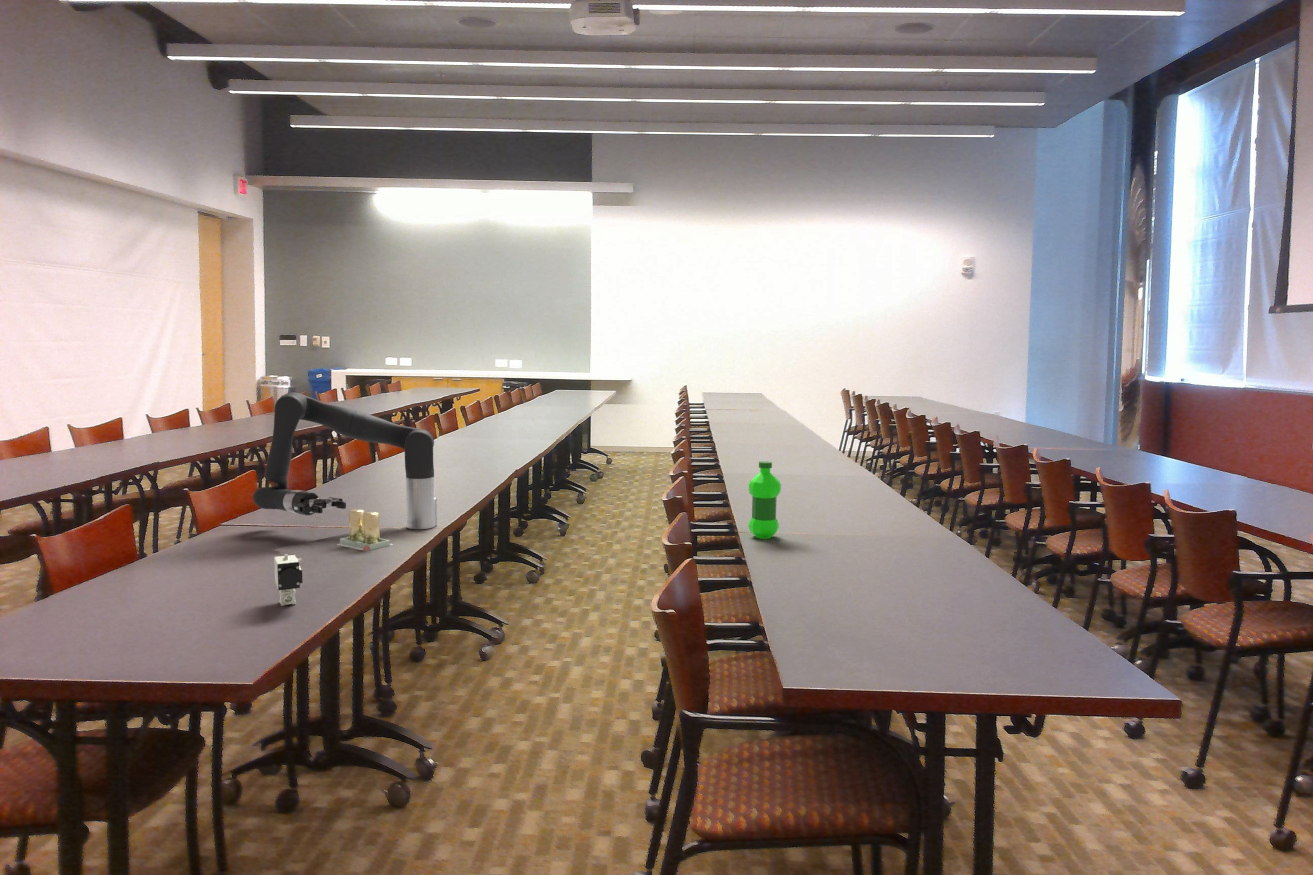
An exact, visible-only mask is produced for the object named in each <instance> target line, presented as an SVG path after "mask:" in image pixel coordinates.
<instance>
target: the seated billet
mask: <svg viewBox="0 0 1313 875" xmlns="http://www.w3.org/2000/svg"><path fill="white" fill-rule="evenodd" d="M363 521H364V543H366V544H374V543H378V542H380V538H381V537H380V534H381V533H380V531H381V530H380V512H379V511H365V513H363Z"/></svg>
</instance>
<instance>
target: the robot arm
mask: <svg viewBox="0 0 1313 875" xmlns="http://www.w3.org/2000/svg"><path fill="white" fill-rule="evenodd" d="M273 416H274V417H273V431H272V432H273V433H272V438H271V444H270V449H269V453H268V456H267V459H266V465H265V470H264V474H263V476H264V479H265V480H266V481H269V482H271V483H274V486H263V487H259V488H257V489H256V490H255V491H254V493H253V494H252V501H253V503H254V505H255V506H256V507H257V508H260V509H263V510H281V511H285V512H290V513H293V514H296V515H303V516H312V515H314V514H322V513H323V510H327V511H329V510H332V509H342V510H345V509H347V508H346V507H347V503H346V501H344V500H343V498H342V497H341V498H340V497H339V498H338V497H332V496H330V497H328V498H327V497H326V498H324V497H320V496H318V494H317V493H315V492H312V491H306V490H301V489H300V490H299V489H295V490H293V489H288V488H289V487H288V475H289V470H290V466H291V463H292V462H291V461H292V454H293V440H294V435H295V432H296V430H297V427H298V425H299V422H300V421H305V422H312V423H315V424H319V425H322V426H324V427H326V428H327V429H329V430H331V431H333V432H335V433H337V434H339V435H341V436H344V437H347V438H350V439H353V440H357V441H361V442H367V443H374V444H385V445H391V446H392V447H393V446H394V447H396V448H399V449H402V450H404V468H405V487H406V488H405V489H406V490H405V494H406V495H405V496H406V528H407V529H411V530H426V529H427V530H429V529H432V528H435V526H438V503H437V501H438V499H437V497H435V469H434V468H435V467H434V446H435V440H434V436H433V435H432V433H430V431H428V430H427V429H423V428H419V427H418V428H416V427H411V426H406V425H400V424H398V423H394V422H391V421H388V420H386V419H383V418H380V417H378V416H375V415H372V414H369V413H366V412H361V411H359V410H355V409H351V408H347V407H343V406H338V405H335V404H330V403H327V402H323V401H320V400H318V399H315V398H314V397H313V398H312V397H310V396H307V395H305V394H302V393H301V392H300V393H299V392H296V391H295V392H293V391H292V392H287V393H285V394H283V395H282V396H280V397H279V398H277V400H276V402H275V404H274V415H273ZM327 504H328V506H327Z"/></svg>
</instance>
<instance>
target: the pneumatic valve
mask: <svg viewBox="0 0 1313 875" xmlns="http://www.w3.org/2000/svg"><path fill="white" fill-rule="evenodd" d="M300 563H302V558H301V557H297V556H296V555H295V553H293V554H282V555H275V556H273V571H274V574H273V576H274V583H275V585H276V588H277V590H278V592H279V601H278V602H279V604H280V606H281V607H284V606H288V605H293V606H294V604H295V605H296V604H297V601H296V594H297V592H296V589H300V588H301V586H300V585H301V584H303V569H302V568H301V566H300Z"/></svg>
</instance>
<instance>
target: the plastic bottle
mask: <svg viewBox="0 0 1313 875" xmlns="http://www.w3.org/2000/svg"><path fill="white" fill-rule="evenodd" d="M772 467H773V462H772V461H768V460H767V461H764V460H763V461H759V462H758V468H759V469H760V471H759V473H757V474H756V475H755V476H754V477H753V478H752V479H751V480H750V481H749V484H748V491H749V494H750V495H751V497H752V501H751V505H752V506H751V518H750V521H749V523H748V529H749V531H750V533H751V534H752V535H753V536H755V538H757V539H761V540H762V539H763V540H768V539H771V538H772V537H774V536H775V534H776V533H777V532H778V530H779V528H780V527H779V526H780V525H779V521H778V519H777V499H778V496H779V495H780V493H781V488H782V487H781V486H782V484H781V482H780V480H779V479H778V478H777V477H776V476H775V475H774V474H773V473H771V469H772Z"/></svg>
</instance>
